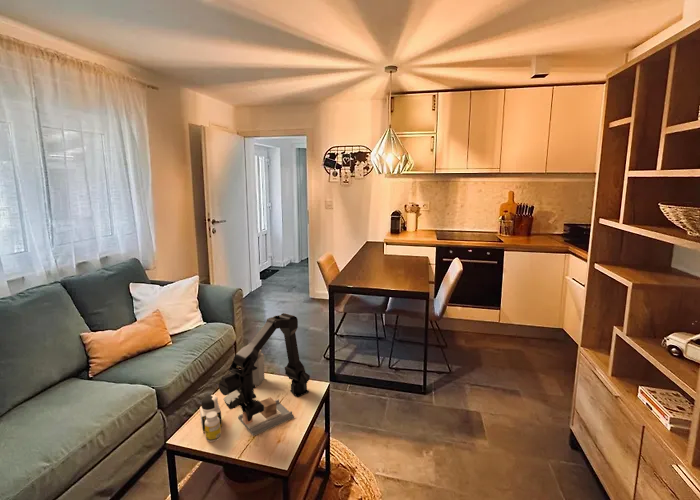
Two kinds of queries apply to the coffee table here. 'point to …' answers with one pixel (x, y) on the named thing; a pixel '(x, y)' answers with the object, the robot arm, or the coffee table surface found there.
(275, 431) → the coffee table surface
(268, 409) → the walnut block
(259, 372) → the perfume bottle
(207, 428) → the supplement bottle
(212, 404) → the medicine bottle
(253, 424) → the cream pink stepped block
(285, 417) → the lane board
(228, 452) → the coffee table surface
